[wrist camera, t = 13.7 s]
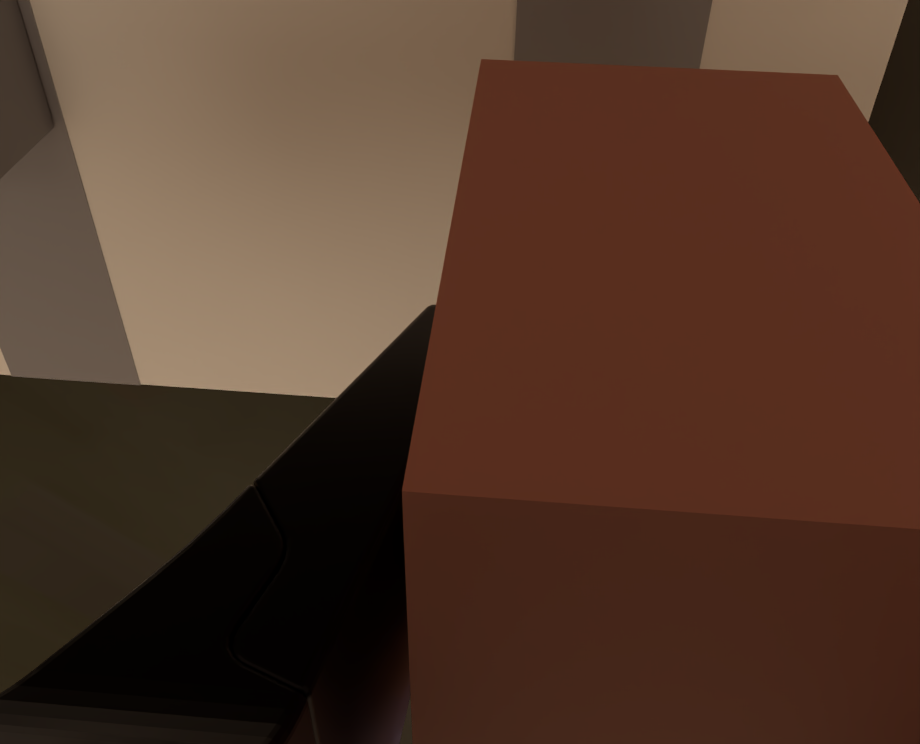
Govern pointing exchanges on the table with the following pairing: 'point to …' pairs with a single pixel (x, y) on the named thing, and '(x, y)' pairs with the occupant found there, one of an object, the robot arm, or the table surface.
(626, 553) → the block
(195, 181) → the beige rectangular board
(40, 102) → the block
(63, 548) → the table surface
